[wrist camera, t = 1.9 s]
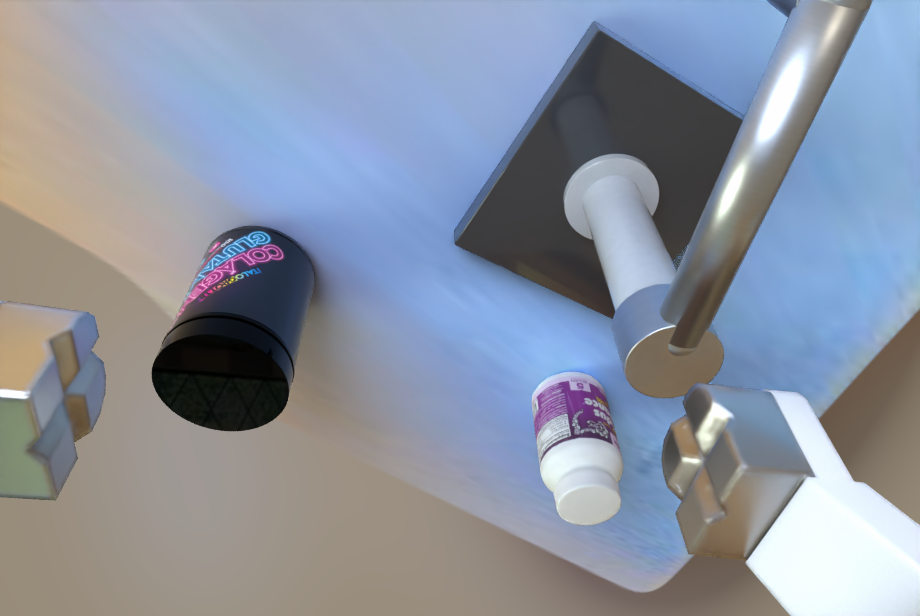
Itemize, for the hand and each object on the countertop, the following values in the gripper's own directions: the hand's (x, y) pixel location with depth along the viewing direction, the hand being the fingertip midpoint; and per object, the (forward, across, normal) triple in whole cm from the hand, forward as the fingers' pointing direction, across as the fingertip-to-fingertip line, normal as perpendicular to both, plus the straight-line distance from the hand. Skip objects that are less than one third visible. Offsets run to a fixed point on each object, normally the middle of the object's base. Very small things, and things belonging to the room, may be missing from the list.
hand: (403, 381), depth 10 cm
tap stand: (+29, -12, +11) cm, 33 cm away
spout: (+18, -12, +4) cm, 22 cm away
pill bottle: (+30, -14, +28) cm, 43 cm away
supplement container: (+30, +8, +20) cm, 36 cm away
